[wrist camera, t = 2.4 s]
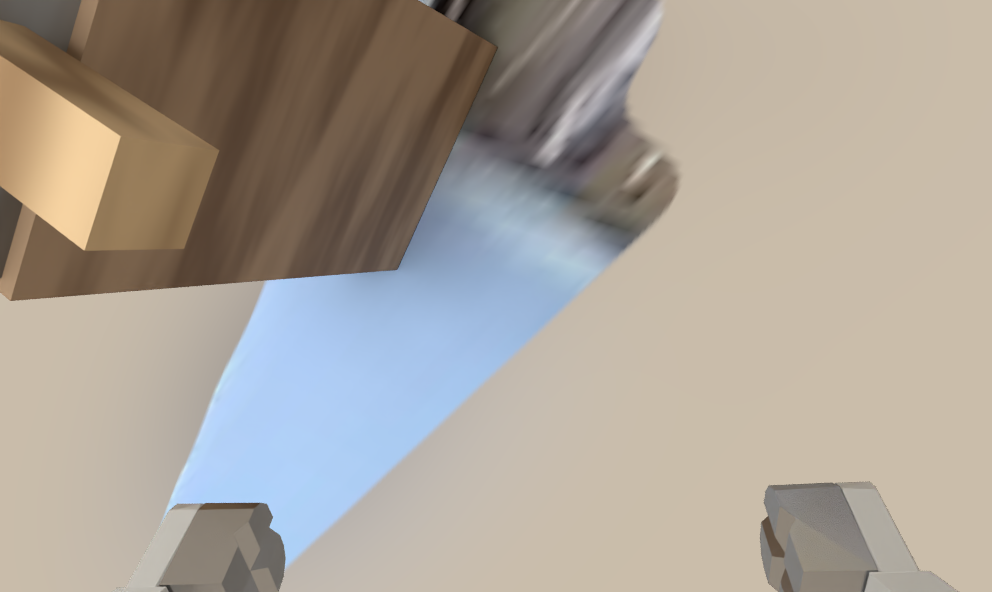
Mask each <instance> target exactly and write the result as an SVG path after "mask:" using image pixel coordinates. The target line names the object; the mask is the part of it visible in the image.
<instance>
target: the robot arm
mask: <svg viewBox="0 0 992 592" xmlns="http://www.w3.org/2000/svg"><path fill="white" fill-rule="evenodd" d="M764 504H765V507H766V510H767V513H768V517H767V518H766V519H765V520H763V521H762V522H761V532H760V543H761V555H762V560H763V565H764V569H765V573H766V577H767V580H768V583H769V584H770V585H771V586H772V587H773V588H774V589H776V590H777V591H778V592H958V591H957V590H956V589H954V588H953V587H952V586H950V585H949V584H948V583H946V582H945V581H943V580H942V579H941V578H939V577H938V576H936V575H935V574H934V573H932V572H931V571H919V568H918V567H917V565H916V563H915V561H914V559H913V557H912V556H911V553H910V551H909V550H908V548H907V546H906V544H905V542H904V540H903V538H902V536H901V534H900V532H899V531H898V529H897V527H896V525H895V523H894V521H893V519H892V517H891V515H890V513H889V512H888V510H887V508H886V506H885V504H884V502H883V500H882V499H881V496H880V494H879V492H878V490H877V489H876V487H875V486H874V485H873V484H872V483H870V482H848V483H835V484H833V483H816V484H793V485H771V486H768V488H767V490H766V492H765V499H764ZM272 518H273V516H272V514H271V512H270V510H269V508H268V505H267V504H264V503H205V504H177V505H175V506H174V507H173V508H172V509H170V510H169V512H168V513H167V515H166V517H165V518H164V520H163V522H162V524H161V525H160V527H159V529H158V531H157V533H156V534H155V536H154V538H153V540H152V541H151V543H150V545H149V547H148V549H147V550H146V552H145V554H144V556H143V558H142V559H141V561H140V563H139V565H138V566H137V568H136V570H135V572H134V574H133V575H132V577H131V579H130V581H129V582H128V584H127V586H126V587H119V588H116V589H115V590H114V591H112V592H279V589H280V586H281V583H282V580H283V577H284V568H285V551H284V545H283V542H282V539H281V537H280V535H279V534H277V533H276V532H275V531H273V530H272V529H270V528H269V526H270V523H271V521H272Z"/></svg>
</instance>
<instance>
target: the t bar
mask: <svg viewBox="0 0 992 592" xmlns="http://www.w3.org/2000/svg"><path fill="white" fill-rule="evenodd" d="M80 4H81V0H0V278H2V275H3V271H4V268H5V264H6V261H7V257H8V254H9V250H10V247H11V244H12V240H13V237H14V233H15V230H16V226H17V223H18V219H19V216H20V212H21V209H22V205H23V204H24V205H25V206H27V207H28V208H29V209H31V210H32V211H33V212H35V213H36V214H37V215H38V216H40V217H41V218H42V219H44V220H45V221H46V222H48V223H49V224H50V225H51V226H53V227H54V228H55V229H57V230H58V231H59V232H61V233H62V234H63V235H64V236H66V237H67V238H68V239H70V240H71V241H72V242H74V243H75V244H76V245H77V246H79V247H80V248H81V249H83V250H84V251H101V250H151V249H184V247H185V244H186V242H187V239H188V236H189V233H190V231H191V228H192V225H193V222H194V219H195V217H196V214H197V211H198V208H199V206H200V203H201V200H202V197H203V194H204V192H205V189H206V186H207V183H208V181H209V178H210V175H211V172H212V169H213V167H214V164H215V161H216V158H217V156H218V153H219V150H218V149H216V148H215V147H213V146H212V145H210V144H209V143H207V142H205V141H204V140H202V139H201V138H199V137H198V136H196V135H194V134H193V133H191V132H190V131H188V130H187V129H185V128H183V127H182V126H180V125H179V124H177V123H176V122H174V121H172V120H171V119H169V118H168V117H166V116H165V115H163V114H161V113H160V112H158V111H157V110H155V109H154V108H152V107H150V106H149V105H147V104H146V103H144V102H143V101H141V100H140V99H138V98H136V97H135V96H133V95H132V94H130V93H129V92H127V91H125V90H124V89H122V88H121V87H119V86H118V85H116V84H114V83H113V82H111V81H110V80H108V79H107V78H105V77H103V76H102V75H100V74H99V73H97V72H96V71H94V70H92V69H91V68H89V67H88V66H86V65H85V64H83V63H81V62H80V61H78V60H77V59H75V58H74V57H72V56H71V55H69V54H67V53H66V52H67V49H68V45H69V42H70V38H71V35H72V31H73V28H74V24H75V21H76V17H77V14H78V11H79V7H80Z"/></svg>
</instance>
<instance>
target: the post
mask: <svg viewBox="0 0 992 592" xmlns="http://www.w3.org/2000/svg"><path fill="white" fill-rule="evenodd" d="M497 48H498V47H496V46H495V45H493V44H491V43H490V42H488V41H486V40H484V39H483V38H481V37H479V36H478V35H476V34H474V33H473V32H471V31H469V30H468V29H466V28H464V27H462V26H461V25H459V24H457V23H456V22H454V21H452V20H451V19H449V18H447V17H446V16H444V15H442V14H440V13H439V12H437V11H435V10H434V9H432V8H430V7H429V6H427V5H425V4H423V3H422V2H420V1H418V0H81V4H80V7H79V11H78V14H77V17H76V21H75V24H74V28H73V31H72V35H71V38H70V42H69V45H68V49H67V52H66V53H67V54H69V55H71V56H72V57H74V58H75V59H77V60H78V61H80V62H81V63H83V64H85V65H86V66H88V67H89V68H91V69H92V70H94V71H96V72H97V73H99V74H100V75H102V76H103V77H105V78H107V79H108V80H110V81H111V82H113V83H114V84H116V85H118V86H119V87H121V88H122V89H124V90H125V91H127V92H129V93H130V94H132V95H133V96H135V97H136V98H138V99H140V100H141V101H143V102H144V103H146V104H147V105H149V106H150V107H152V108H154V109H155V110H157V111H158V112H160V113H161V114H163V115H165V116H166V117H168V118H169V119H171V120H172V121H174V122H176V123H177V124H179V125H180V126H182V127H183V128H185V129H187V130H188V131H190V132H191V133H193V134H194V135H196V136H198V137H199V138H201V139H202V140H204V141H205V142H207V143H209V144H210V145H212V146H213V147H215V148H216V149H218V150H219V153H218V156H217V158H216V161H215V164H214V167H213V169H212V172H211V175H210V178H209V181H208V183H207V186H206V189H205V192H204V194H203V197H202V200H201V203H200V206H199V208H198V211H197V214H196V217H195V219H194V222H193V225H192V228H191V231H190V233H189V236H188V239H187V242H186V244H185V247H184V249H151V250H101V251H84V250H83V249H81V248H80V247H79V246H77V245H76V244H75V243H74V242H72V241H71V240H70V239H68V238H67V237H66V236H64V235H63V234H62V233H61V232H59V231H58V230H57V229H55V228H54V227H53V226H51V225H50V224H49V223H48V222H46V221H45V220H44V219H42V218H41V217H40V216H38V215H37V214H36V213H35V212H33V211H32V210H31V209H29V208H28V207H27V206H25V205H24V204H23V205H22V209H21V212H20V216H19V219H18V223H17V226H16V230H15V233H14V237H13V240H12V244H11V247H10V250H9V254H8V257H7V261H6V264H5V268H4V271H3V275H2V278H0V293H2V294H3V295H4V296H5V297H6V298H8V299H9V300H10V301H15V300H28V299H40V298H53V297H64V296H77V295H90V294H102V293H115V292H126V291H139V290H152V289H163V288H177V287H189V286H200V285H201V286H202V285H214V284H227V283H239V282H252V281H263V280H276V279H289V278H301V277H314V276H326V275H339V274H351V273H363V272H376V271H388V270H397V269H398V266H399V264H400V262H401V260H402V258H403V255H404V253H405V251H406V249H407V247H408V244H409V242H410V240H411V238H412V236H413V233H414V231H415V229H416V227H417V224H418V222H419V220H420V218H421V216H422V213H423V211H424V209H425V207H426V205H427V202H428V200H429V198H430V196H431V194H432V191H433V189H434V187H435V185H436V183H437V180H438V178H439V176H440V174H441V171H442V169H443V167H444V165H445V163H446V160H447V158H448V156H449V154H450V152H451V149H452V147H453V145H454V143H455V141H456V138H457V136H458V134H459V132H460V130H461V127H462V125H463V123H464V121H465V118H466V116H467V114H468V112H469V110H470V107H471V105H472V103H473V101H474V99H475V96H476V94H477V92H478V90H479V88H480V85H481V83H482V81H483V79H484V77H485V74H486V72H487V70H488V68H489V65H490V63H491V61H492V59H493V57H494V54H495V52H496V50H497Z"/></svg>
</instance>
